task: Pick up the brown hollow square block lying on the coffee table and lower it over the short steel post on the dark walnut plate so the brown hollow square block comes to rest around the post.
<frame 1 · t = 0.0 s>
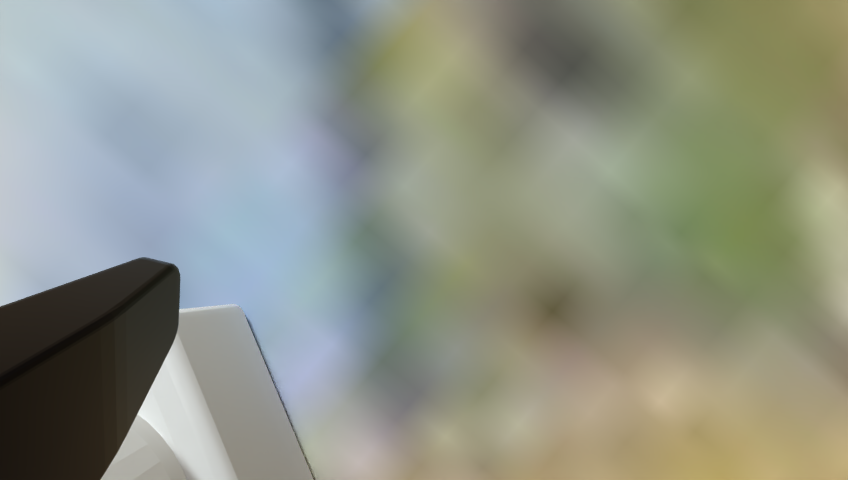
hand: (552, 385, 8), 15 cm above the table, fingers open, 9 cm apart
medicine bottle: (184, 444, 23), on the table
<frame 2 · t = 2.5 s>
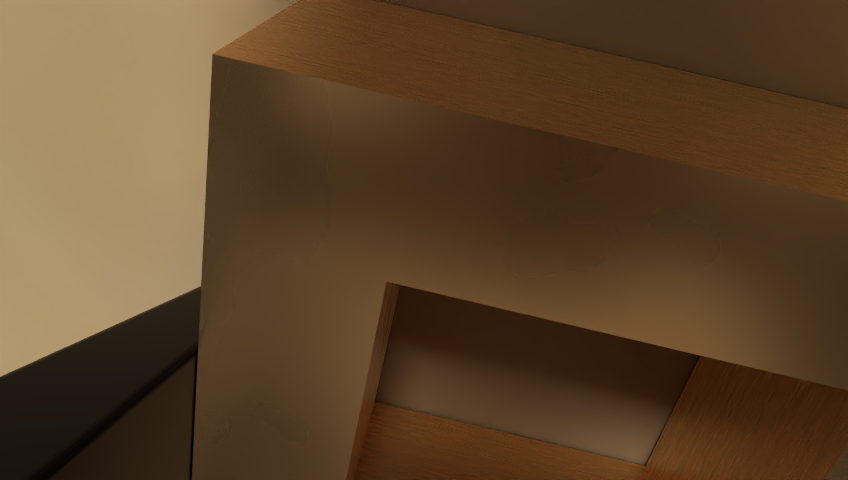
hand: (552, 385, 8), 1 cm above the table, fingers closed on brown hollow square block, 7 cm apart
brown hollow square block: (548, 323, 9), on the table, touching gripper
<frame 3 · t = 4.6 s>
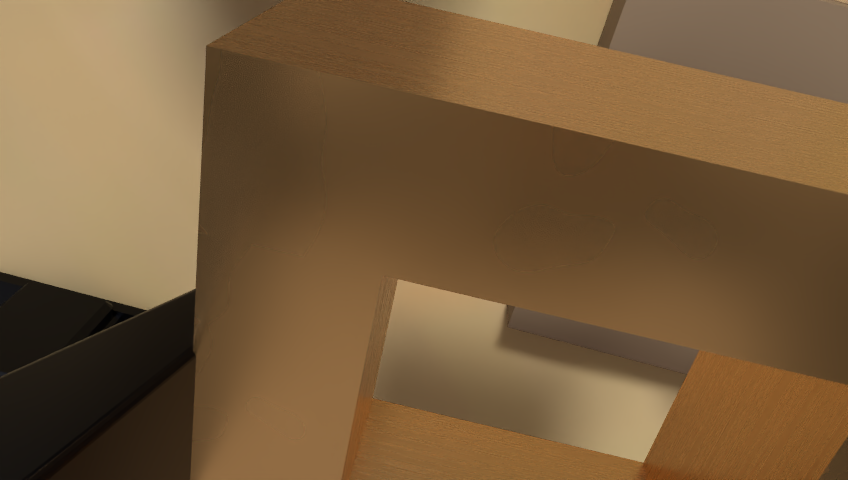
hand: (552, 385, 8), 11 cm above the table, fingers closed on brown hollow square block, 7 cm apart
keeper plate: (781, 203, 19), on the table
brown hollow square block: (546, 319, 9), point 10 cm above the table, touching gripper
when the fingers open (4 cm above the table, at t = 6.9 s): brown hollow square block drops 1 cm, resting on keeper plate.
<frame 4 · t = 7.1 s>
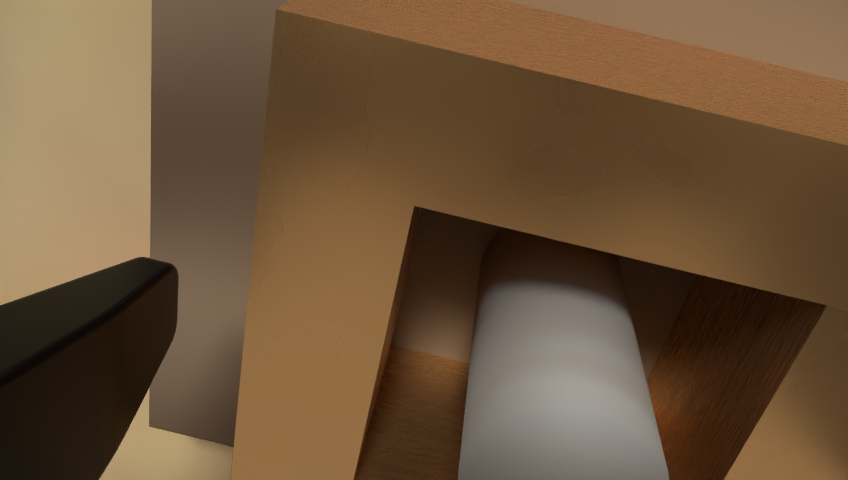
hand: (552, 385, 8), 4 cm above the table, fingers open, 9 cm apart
keeper plate: (545, 227, 12), on the table
brown hollow square block: (549, 270, 10), point 1 cm above the table, touching keeper plate
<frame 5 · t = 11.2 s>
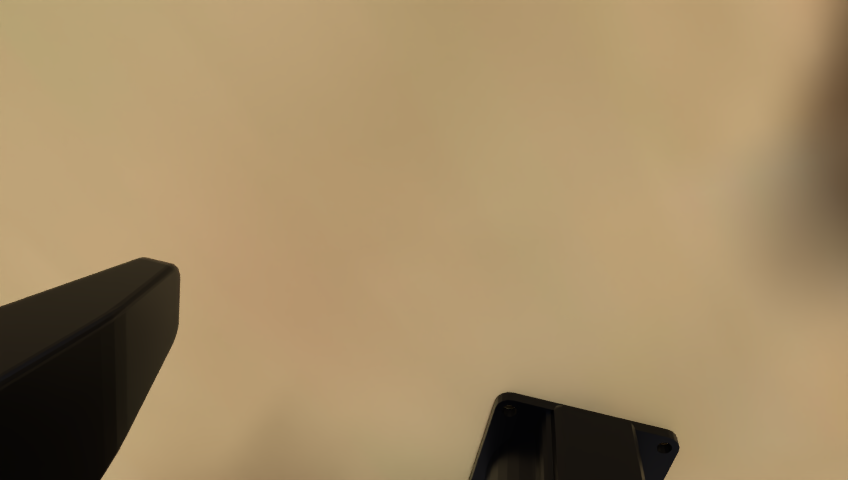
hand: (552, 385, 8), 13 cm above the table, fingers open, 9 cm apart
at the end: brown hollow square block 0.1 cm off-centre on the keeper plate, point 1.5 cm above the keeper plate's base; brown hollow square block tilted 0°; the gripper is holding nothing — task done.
